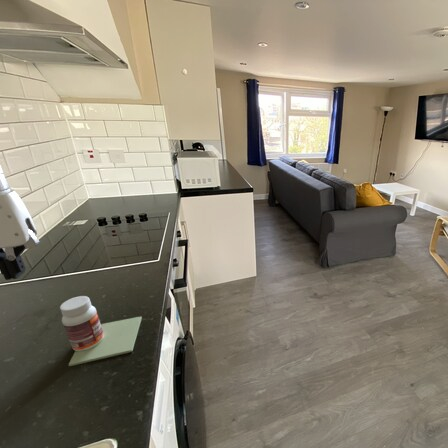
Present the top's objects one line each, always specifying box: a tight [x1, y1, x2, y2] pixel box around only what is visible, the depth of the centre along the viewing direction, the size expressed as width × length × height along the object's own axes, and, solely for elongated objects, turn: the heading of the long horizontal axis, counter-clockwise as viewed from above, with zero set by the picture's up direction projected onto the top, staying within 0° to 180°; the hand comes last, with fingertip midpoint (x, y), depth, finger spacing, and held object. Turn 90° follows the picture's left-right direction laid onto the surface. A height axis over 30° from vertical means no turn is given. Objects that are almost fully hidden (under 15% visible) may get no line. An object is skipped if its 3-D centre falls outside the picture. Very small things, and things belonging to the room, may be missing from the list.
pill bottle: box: [59, 295, 104, 351], centre depth 60 cm, size 6×6×11 cm
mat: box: [68, 316, 143, 367], centre depth 64 cm, size 12×12×1 cm
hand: (16, 275), depth 53 cm, fingers closed
